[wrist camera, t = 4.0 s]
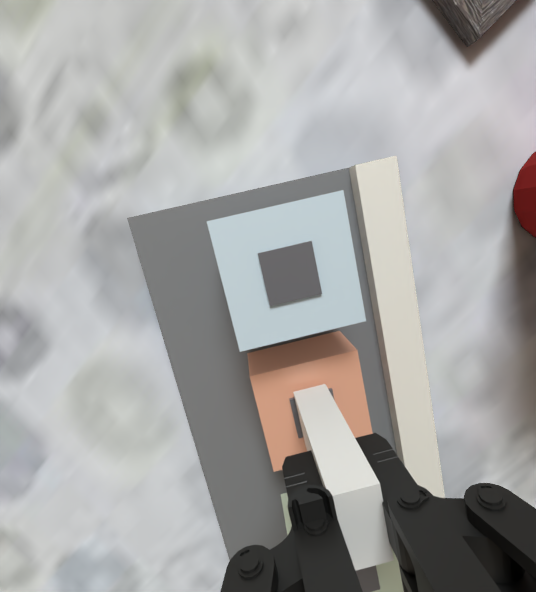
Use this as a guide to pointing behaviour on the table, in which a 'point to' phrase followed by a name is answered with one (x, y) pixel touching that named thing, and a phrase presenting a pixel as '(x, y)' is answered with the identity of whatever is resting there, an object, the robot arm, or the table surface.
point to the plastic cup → (526, 196)
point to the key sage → (374, 580)
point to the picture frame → (472, 16)
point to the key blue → (288, 270)
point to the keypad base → (234, 364)
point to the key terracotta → (301, 375)
